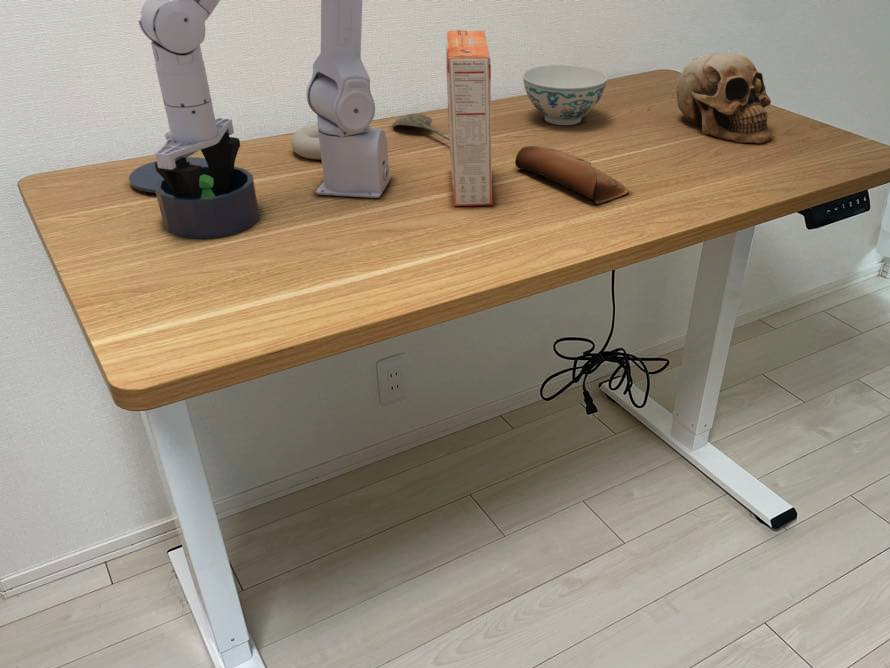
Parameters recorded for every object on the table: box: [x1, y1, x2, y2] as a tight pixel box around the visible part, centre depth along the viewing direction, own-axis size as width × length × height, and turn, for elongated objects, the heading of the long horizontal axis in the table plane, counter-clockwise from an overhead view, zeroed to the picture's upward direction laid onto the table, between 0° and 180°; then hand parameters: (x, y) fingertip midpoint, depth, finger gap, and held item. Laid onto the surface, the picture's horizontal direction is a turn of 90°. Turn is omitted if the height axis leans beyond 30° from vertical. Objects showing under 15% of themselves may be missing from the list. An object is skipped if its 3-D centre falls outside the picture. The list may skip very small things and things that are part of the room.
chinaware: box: [522, 64, 608, 126], centre depth 152 cm, size 15×15×8 cm
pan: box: [155, 165, 260, 240], centre depth 115 cm, size 12×12×5 cm
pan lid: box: [128, 156, 208, 194], centre depth 126 cm, size 13×13×5 cm
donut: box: [290, 124, 322, 161], centre depth 137 cm, size 10×4×10 cm
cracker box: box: [445, 29, 493, 207], centre depth 121 cm, size 14×6×21 cm, turn 5°
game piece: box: [199, 174, 215, 198], centre depth 114 cm, size 4×4×6 cm
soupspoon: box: [392, 113, 450, 141], centre depth 143 cm, size 22×3×7 cm
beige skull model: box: [676, 52, 772, 144], centre depth 150 cm, size 16×17×13 cm
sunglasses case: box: [514, 145, 630, 205], centre depth 129 cm, size 18×7×7 cm
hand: (209, 202), depth 115 cm, fingers open, 7 cm apart
